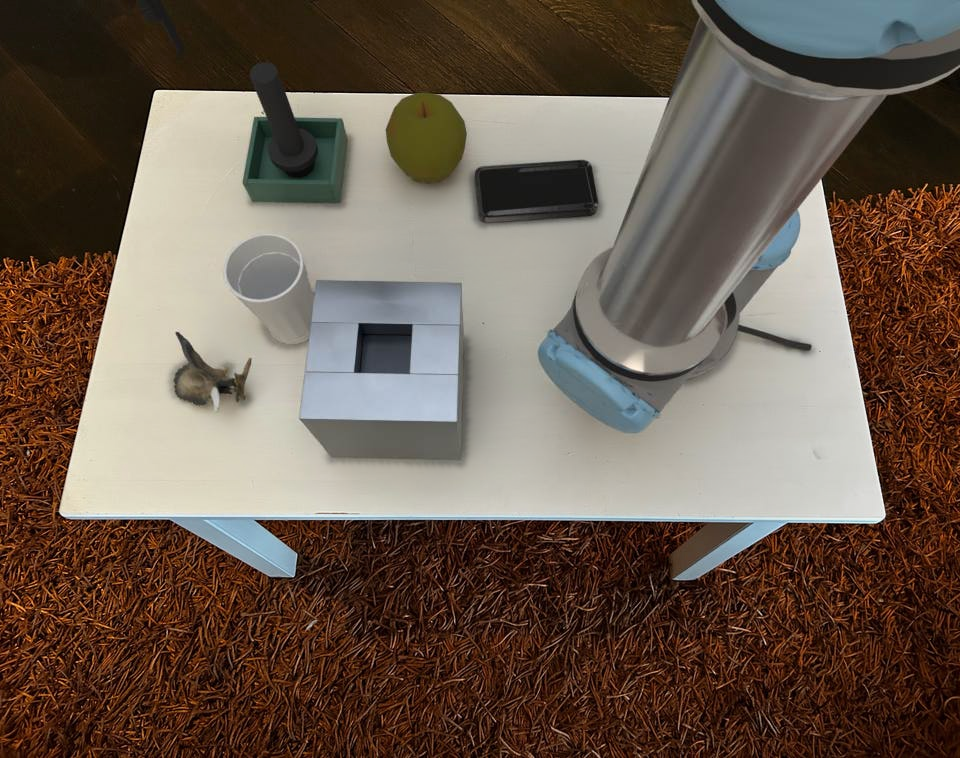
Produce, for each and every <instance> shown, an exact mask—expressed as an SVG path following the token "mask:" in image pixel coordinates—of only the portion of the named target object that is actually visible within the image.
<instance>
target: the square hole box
mask: <svg viewBox="0 0 960 758" xmlns="http://www.w3.org/2000/svg"><path fill="white" fill-rule="evenodd" d="M462 285H463V284H462V282H448V281H447V282H444V281H442V282H439V281H438V282H437V281H396V280H395V281H390V280H388V281H387V280H386V281H385V280H378V281H377V280H341V279H340V280H339V279H338V280H336V279H335V280H333V279H332V280H331V279H316V280H315V286H314V293H313V294H314V302H313V310H312V318H311V326H310V334H309V339H308V344H307V351H306V360H305V366H304V376H303V385H302V391H301V399H300V407H299V416H298V419H299V421H301V423H302V424H303V425H304V426H305V428H306V429H307V430H308V431H309V432H310V433H311V435H312V436H313V437H314V438H315V440H316V441H317V442H318V444H320V445H321V446H322V448H323V449H324V450H325V451H326V452H327V454H328V455H329V456H330V457H331V458H333V459H334V458H335V459H336V458H337V459H383V460H434V461H439V460H440V461H441V460H442V461H461V460H462V459H461V458H462V430H463V428H462V427H463V426H462V425H463V396H464V395H463V394H464V393H463V391H464V363H465V362H464V359H465V357H464V356H465V331H464V330H465V329H464V308H463V286H462Z"/></svg>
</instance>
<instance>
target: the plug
mask: <svg viewBox="0 0 960 758" xmlns="http://www.w3.org/2000/svg"><path fill="white" fill-rule="evenodd" d="M249 78H250V81H251V83H252V85H253V88H254V90H255V93H256V95H257V99H258V100H259V103H260V105H261V106H262V110H263V112H264V114H265V117H267V120H268V122H269V124H270V127H271V129H272V132H273V134H274V136H273V137H272V139H271V140H270V142H269V144H268V154H269V157H270V159H271V161H272V163H273V164H274V165H275V166H276V167H277V168H279V169H280V170H283V171H285V173H286V174H287V175H289V176H291V177H294V178H301V177H304V176H307V175H308V174H310V173H311V172H312V170H313V168H314V161H315V160H316V158H317V155H318V146H317V143H316V140H315V138H314V137H313V135H312V134H311V133H309V132H308V131H306V130H304V129H300V128H298V126H297V123H296V120H295V117H296V116H295V115H294V112H293V110H292V106H291V104H290V101H289V97H288V95H287V92H286V90H285V86H284V84H283V81H282V78H281V76H280V72H279V70H278V68H277V66H276V65H275V64H274V63H271V62H267V61H264V62H259V63H257V64H255V65H253V66H252V67H251V69H250V71H249Z"/></svg>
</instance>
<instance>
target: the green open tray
mask: <svg viewBox="0 0 960 758" xmlns="http://www.w3.org/2000/svg"><path fill="white" fill-rule="evenodd" d="M294 117H295V120H296V123H297V126H298V128H300V129H304V130H306V131H308V132H309V133H311V134H312V135H313V137H314V138H315V140H316V143H317V146H318V155H317V158H316V160H315V161H314V168H313V170H312V172H311V173H310V174H308V175H307V176H304V177H301V178H294V177H291V176H289V175H287V174H286V173H285V171H283V170H280V169H279V168H277V167H276V166H275V165H274V164H273V163H272V161H271V159H270V157H269V154H268V144H269V142H270V140H271V139H272V137H273V136H274V134H273V132H272V129H271V127H270V124H269V122H268V120H267V117H266V116H254V117H253V122H252V127H251V133H250V138H249V143H248V148H247V149H248V150H247V153H246V154H247V155H246V160H245V166H244V169H243V170H244V171H243V176H242V181H241V184H242V185H243V187H244V189H245V190H246V193H247V194H248V196H249V198H250V200H251V202H254V203H255V202H256V203H257V202H259V203H303V204H305V203H307V204H310V203H311V204H314V203H315V204H341V201H342V193H343V192H342V191H343V184H344V174H345V167H346V166H345V165H346V156H347V149H348V148H347V147H348V135H347V131H346V127H345V124H344V119H343V118H342V117H299V116H298V117H296V116H294Z"/></svg>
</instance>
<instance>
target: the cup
mask: <svg viewBox="0 0 960 758" xmlns="http://www.w3.org/2000/svg"><path fill="white" fill-rule="evenodd" d="M303 257H304V256H303V254H302V252H301V249H300V248H299V246H298V245H297V244H296V243H295V242H294V241H293V240H291V238H289V237H286V236H284V235H282V234H278V233H274V232H262V233H257V234H253V235H250V236H248V237H246V238H244V239H242V240H241V241H240V242H238V243H236V245H235V246H234V247H232V249H230V252H229V253H228V254H227V256H226V258H225V260H224V263H223V269H222V275H223V280H224V283H225V285H226V286H227V288H228V290H229V291H230V292H231V293H232V294H233V295H234V296H235V297H236V298H237V299H238V300H239V301H240V302H241V303H242V304H243V306H245V307H246V308H247V309H248V310H250V311H251V313H252V314H253V315H254V316H255V317H256V318H257V319H258V321H260V323H261V324H262V325H263V326H264V327H265V328H266V329H267V330H268V332H269V333H270V335H271V336H272V337H273V338H274V339H275V340H277V341H278V342H279V343H282V344H286V345H298V344H302V343H304V342H307V341H309V334H310V326H311V318H312V310H313V302H314V294H315V293H314V291H313V289H312V284H311V282H310V279H309V274H308V270H307V267H306V264H305V260H304V258H303Z"/></svg>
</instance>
